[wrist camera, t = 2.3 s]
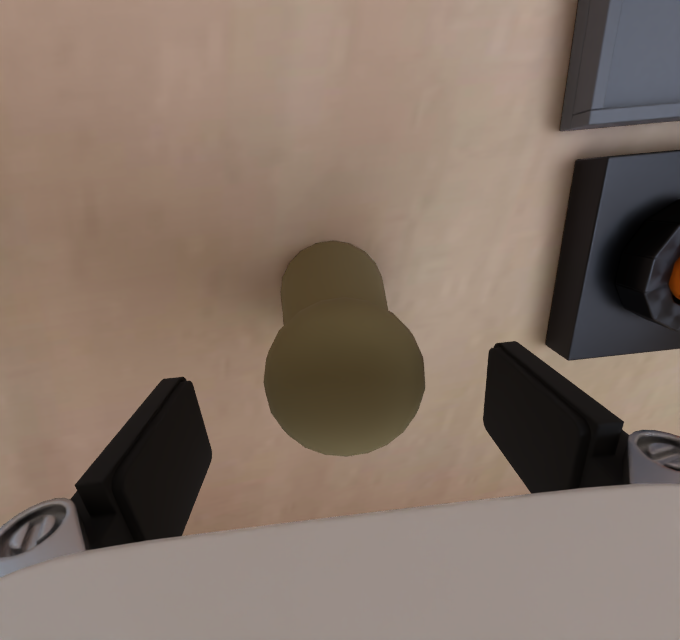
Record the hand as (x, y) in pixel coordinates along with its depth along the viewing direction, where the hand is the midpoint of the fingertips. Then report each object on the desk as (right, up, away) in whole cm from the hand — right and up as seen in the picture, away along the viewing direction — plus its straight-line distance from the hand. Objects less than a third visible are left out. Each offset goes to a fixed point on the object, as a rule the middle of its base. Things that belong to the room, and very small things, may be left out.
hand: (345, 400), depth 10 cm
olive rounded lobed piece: (-1, +4, +9) cm, 10 cm away
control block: (+18, +6, +9) cm, 21 cm away
